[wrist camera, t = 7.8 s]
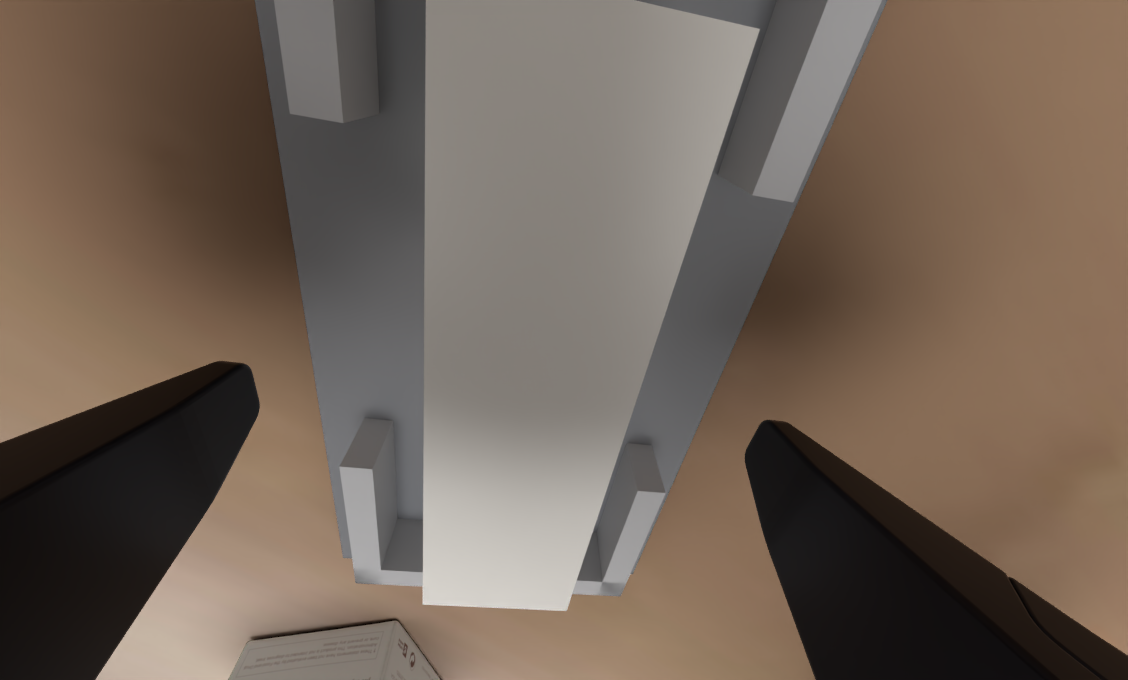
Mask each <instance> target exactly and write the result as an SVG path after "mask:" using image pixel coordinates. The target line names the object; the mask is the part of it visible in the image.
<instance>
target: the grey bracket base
mask: <svg viewBox="0 0 1128 680" xmlns="http://www.w3.org/2000/svg"><path fill="white" fill-rule="evenodd" d="M636 1H640V2H645V3H649V4H653V5H658V6H662V7H666V8H671V9H675V10H679V11H684V12H688V13H693V14H697V15H701V16H706V17H710V18H714V19H719V20H723V21H727V22H732V23H736V24H740V25H745V26H749V27H753V28H758V29H760V31H759V34H758V37H757V40H756V43H755V46H754V49H753V52H752V55H751V58H750V61H749V64H748V67H747V70H746V73H745V76H744V79H743V82H742V85H741V88H740V91H739V94H738V97H737V100H736V103H735V106H734V109H733V112H732V115H731V118H730V121H729V124H728V127H727V130H726V133H725V136H724V139H723V142H722V145H721V148H720V151H719V154H718V157H717V160H716V163H715V166H714V169H713V172H712V175H711V178H710V181H709V184H708V187H707V190H706V193H705V196H704V199H703V202H702V205H701V208H700V211H699V214H698V217H697V220H696V223H695V226H694V229H693V232H692V235H691V238H690V241H689V244H688V247H687V250H686V253H685V256H684V259H683V262H682V265H681V268H680V271H679V274H678V277H677V280H676V283H675V286H674V289H673V292H672V295H671V298H670V301H669V304H668V307H667V310H666V313H665V316H664V319H663V322H662V325H661V328H660V331H659V334H658V337H657V340H656V343H655V346H654V349H653V352H652V355H651V358H650V361H649V364H648V367H647V370H646V373H645V376H644V379H643V382H642V385H641V388H640V391H639V394H638V397H637V400H636V403H635V406H634V409H633V412H632V415H631V418H630V421H629V424H628V427H627V430H626V433H625V436H624V439H623V442H622V445H621V448H620V451H619V454H618V457H617V460H616V463H615V467H614V470H613V473H612V476H611V479H610V482H609V485H608V488H607V491H606V494H605V497H604V500H603V503H602V506H601V509H600V512H599V515H598V518H597V521H596V524H595V527H594V530H593V533H592V536H591V539H590V542H589V545H588V548H587V551H586V554H585V557H584V560H583V563H582V566H581V569H580V572H579V575H578V578H577V581H576V584H575V587H574V590H573V593H572V594H584V595H604V596H621V594H622V592H623V589H624V587H625V585H626V582H627V580H628V578H629V576H630V574H633V572H634V570H635V568H636V565H637V563H638V561H639V559H640V556H641V554H642V552H643V550H644V547H645V545H646V543H647V541H648V538H649V536H650V534H651V532H652V529H653V527H654V525H655V523H656V520H657V518H658V516H659V514H660V511H661V509H662V507H663V505H664V502H665V500H666V498H667V496H668V493H669V491H670V489H671V487H672V484H673V482H674V480H675V478H676V475H677V473H678V471H679V468H680V466H681V464H682V462H683V459H684V457H685V455H686V453H687V450H688V448H689V446H690V444H691V441H692V439H693V437H694V435H695V432H696V430H697V428H698V426H699V423H700V421H701V419H702V417H703V414H704V412H705V410H706V408H707V405H708V403H709V401H710V399H711V396H712V394H713V392H714V390H715V387H716V385H717V383H718V381H719V378H720V376H721V374H722V372H723V369H724V367H725V365H726V363H727V360H728V358H729V356H730V354H731V351H732V349H733V347H734V345H735V342H736V340H737V338H738V336H739V333H740V331H741V329H742V327H743V324H744V322H745V320H746V318H747V315H748V313H749V311H750V309H751V306H752V304H753V302H754V300H755V297H756V295H757V293H758V291H759V288H760V286H761V284H762V282H763V279H764V277H765V275H766V273H767V270H768V268H769V266H770V264H771V261H772V259H773V257H774V255H775V252H776V250H777V248H778V246H779V243H780V241H781V239H782V237H783V234H784V232H785V230H786V228H787V225H788V223H789V221H790V219H791V216H792V214H793V212H794V210H795V207H796V205H797V203H798V201H799V198H800V196H801V194H802V192H803V189H804V187H805V185H806V183H807V180H808V178H809V176H810V173H811V171H812V169H813V167H814V164H815V162H816V160H817V158H818V155H819V153H820V151H821V149H822V146H823V144H824V142H825V140H826V137H827V135H828V133H829V131H830V128H831V126H832V124H833V122H834V119H835V117H836V115H837V113H838V110H839V108H840V106H841V104H842V101H843V99H844V97H845V95H846V92H847V90H848V88H849V86H850V83H851V81H852V79H853V77H854V74H855V72H856V70H857V68H858V65H859V63H860V61H861V59H862V56H863V54H864V52H865V50H866V47H867V45H868V43H869V41H870V38H871V36H872V34H873V32H874V29H875V27H876V25H877V23H878V20H879V18H880V16H881V14H882V11H883V9H884V7H885V5H886V2H887V0H636ZM255 5H256V12H257V18H258V24H259V30H260V37H261V43H262V49H263V56H264V62H265V68H266V75H267V81H268V87H269V93H270V100H271V106H272V112H273V119H274V125H275V131H276V138H277V144H278V150H279V157H280V163H281V169H282V175H283V182H284V188H285V194H286V201H287V207H288V213H289V220H290V226H291V232H292V238H293V245H294V251H295V257H296V264H297V270H298V276H299V283H300V289H301V295H302V302H303V308H304V314H305V320H306V327H307V333H308V339H309V346H310V352H311V358H312V365H313V371H314V377H315V383H316V390H317V396H318V402H319V409H320V415H321V421H322V428H323V434H324V440H325V447H326V453H327V459H328V465H329V472H330V478H331V484H332V491H333V497H334V503H335V510H336V516H337V522H338V528H339V535H340V541H341V547H342V554H343V558H352V560H353V567H354V574H355V582H356V583H362V584H383V585H403V586H423V445H424V250H425V55H426V0H255Z"/></svg>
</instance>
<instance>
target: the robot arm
mask: <svg viewBox="0 0 1128 680" xmlns="http://www.w3.org/2000/svg"><path fill="white" fill-rule="evenodd" d="M259 408H260V404H259V398H258V394H257V390H256V386H255V382H254V378H253V374H252V371H251V369H250V367H249V366H248V365H246V364H244V363H236V362H227V361H217V362H214V363H211V364H208V365H206V366H203V367H200V368H198V369H195V370H192V371H190V372H187V373H184V374H182V375H179V376H177V377H174V378H171V379H169V380H166V381H163V382H161V383H158V384H155V385H153V386H150V387H147V388H145V389H142V390H139V391H137V392H134V393H132V394H129V395H126V396H124V397H121V398H118V399H116V400H113V401H110V402H108V403H105V404H102V405H100V406H97V407H94V408H92V409H89V410H87V411H84V412H81V413H79V414H76V415H73V416H71V417H68V418H65V419H63V420H60V421H57V422H55V423H52V424H49V425H47V426H44V427H42V428H39V429H36V430H34V431H31V432H28V433H26V434H23V435H20V436H18V437H15V438H12V439H10V440H7V441H4V442H2V443H0V680H95V679H96V678H97V676H98V675H99V673H100V672H101V670H102V669H103V667H104V666H105V664H106V663H107V661H108V660H109V658H110V657H111V655H112V654H113V652H114V651H115V649H116V647H117V646H118V644H119V643H120V641H121V640H122V638H123V637H124V635H125V634H126V632H127V631H128V629H129V628H130V626H131V625H132V623H133V622H134V620H135V619H136V617H137V616H138V614H139V613H140V611H141V610H142V608H143V607H144V605H145V604H146V602H147V601H148V599H149V598H150V596H151V595H152V593H153V592H154V590H155V589H156V587H157V586H158V584H159V583H160V581H161V580H162V578H163V576H164V575H165V573H166V572H167V570H168V569H169V567H170V566H171V564H172V563H173V561H174V560H175V558H176V557H177V555H178V554H179V552H180V551H181V549H182V548H183V546H184V545H185V543H186V542H187V540H188V539H189V537H190V536H191V534H192V533H193V531H194V530H195V528H196V527H197V525H198V524H199V522H200V521H201V519H202V518H203V516H204V515H205V513H206V511H207V510H208V508H209V507H210V505H211V503H212V502H213V500H214V498H215V497H216V495H217V493H218V491H219V490H220V488H221V486H222V484H223V482H224V480H225V478H226V476H227V474H228V472H229V470H230V469H231V467H232V465H233V463H234V461H235V459H236V457H237V455H238V453H239V451H240V449H241V447H242V445H243V443H244V442H245V440H246V438H247V436H248V434H249V432H250V430H251V428H252V426H253V424H254V422H255V420H256V418H257V416H258V413H259ZM745 464H746V468H747V472H748V476H749V480H750V484H751V488H752V492H753V496H754V500H755V504H756V508H757V511H758V515H759V519H760V523H761V527H762V531H763V534H764V537H765V541H766V544H767V547H768V550H769V553H770V555H771V558H772V561H773V564H774V566H775V569H776V572H777V575H778V577H779V580H780V583H781V586H782V588H783V591H784V594H785V597H786V599H787V602H788V605H789V608H790V610H791V613H792V616H793V619H794V621H795V624H796V627H797V630H798V632H799V635H800V638H801V641H802V643H803V646H804V649H805V652H806V654H807V657H808V660H809V663H810V665H811V668H812V671H813V674H814V676H815V679H816V680H1128V655H1126V654H1125V653H1123V652H1122V651H1120V650H1118V649H1117V648H1115V647H1114V646H1112V645H1111V644H1109V643H1108V642H1106V641H1105V640H1103V639H1102V638H1100V637H1099V636H1097V635H1095V634H1094V633H1092V632H1091V631H1090V630H1088V629H1087V628H1085V627H1084V626H1082V625H1081V624H1079V623H1078V622H1076V621H1075V620H1073V619H1072V618H1070V617H1069V616H1067V615H1066V614H1064V613H1063V612H1061V611H1060V610H1059V609H1057V608H1056V607H1054V606H1053V605H1051V604H1050V603H1048V602H1047V601H1045V600H1044V599H1042V598H1041V597H1039V596H1038V595H1037V594H1035V593H1034V592H1032V591H1031V590H1029V589H1028V588H1026V587H1025V586H1024V585H1022V584H1021V583H1019V582H1018V581H1016V580H1015V579H1013V578H1011V577H1008V576H1007V575H1006V573H1004V572H1003V571H1002V570H1000V569H999V568H997V567H996V566H994V565H993V564H992V563H990V562H989V561H987V560H986V559H984V558H983V557H981V556H980V555H979V554H977V553H976V552H974V551H973V550H971V549H970V548H968V547H967V546H966V545H964V544H963V543H961V542H960V541H958V540H957V539H955V538H954V537H953V536H951V535H950V534H948V533H947V532H945V531H944V530H942V529H941V528H939V527H938V526H937V525H935V524H934V523H932V522H931V521H929V520H928V519H926V518H925V517H924V516H922V515H921V514H919V513H918V512H916V511H915V510H913V509H912V508H911V507H909V506H908V505H906V504H905V503H903V502H902V501H900V500H899V499H898V498H896V497H895V496H893V495H892V494H890V493H889V492H887V491H886V490H885V489H883V488H882V487H880V486H879V485H877V484H876V483H874V482H873V481H872V480H870V479H869V478H867V477H866V476H864V475H863V474H861V473H860V472H859V471H857V470H856V469H854V468H853V467H851V466H850V465H848V464H847V463H846V462H844V461H843V460H841V459H840V458H838V457H837V456H835V455H834V454H833V453H831V452H830V451H828V450H827V449H825V448H824V447H822V446H821V445H820V444H818V443H817V442H815V441H814V440H812V439H811V438H809V437H808V436H806V435H805V434H804V433H802V432H801V431H799V430H798V429H796V428H795V427H793V426H792V425H791V424H789V423H787V422H784V421H775V420H765V421H763V422H762V423H761V424H760V425H759V427H758V429H757V431H756V433H755V434H754V436H753V438H752V440H751V442H750V444H749V445H748V447H747V449H746V453H745Z"/></svg>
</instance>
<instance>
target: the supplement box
mask: <svg viewBox="0 0 1128 680" xmlns="http://www.w3.org/2000/svg"><path fill="white" fill-rule="evenodd" d="M228 680H440V678H439V677H438V675H437V674H436V672H435V671H434V670H433V668H432V667H431V665H430V664H429V663H428V661H427V660H426V658H425V657H424V656H423V654H422V653H421V651H420V650H419V649H418V647H417V646H416V644H415V643H414V642H413V640H412V639H411V638H410V636H409V635H408V634H407V632H406V631H405V630H404V628H403V627H402V626H401V624H400V623H399V622H398V621H389V622H383V623H377V624H370V625H363V626H356V627H349V628H342V629H335V630H328V631H320V632H313V633H305V634H298V635H291V636H283V637H275V638H268V639H261V640H254V641H249V642H247V643H246V645H245V648H244V650H243V652H242V653H241V655H240V657H239V659H238V661H237V663H236V665H235V667H234V669H233V671H232V673H231V675H230V677H229V679H228Z"/></svg>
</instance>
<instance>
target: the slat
mask: <svg viewBox="0 0 1128 680" xmlns="http://www.w3.org/2000/svg"><path fill="white" fill-rule="evenodd" d="M759 31H760V29H758V28H753V27H749V26H745V25H740V24H736V23H732V22H727V21H723V20H719V19H714V18H710V17H706V16H701V15H697V14H693V13H688V12H684V11H679V10H675V9H671V8H666V7H662V6H658V5H653V4H649V3H645V2H640V1H636V0H426V55H425V250H424V445H423V605H445V606H467V607H489V608H511V609H534V610H556V611H567V608H568V605H569V602H570V599H571V596H572V593H573V590H574V587H575V584H576V581H577V578H578V575H579V572H580V569H581V566H582V563H583V560H584V557H585V554H586V551H587V548H588V545H589V542H590V539H591V536H592V533H593V530H594V527H595V524H596V521H597V518H598V515H599V512H600V509H601V506H602V503H603V500H604V497H605V494H606V491H607V488H608V485H609V482H610V479H611V476H612V473H613V470H614V467H615V463H616V460H617V457H618V454H619V451H620V448H621V445H622V442H623V439H624V436H625V433H626V430H627V427H628V424H629V421H630V418H631V415H632V412H633V409H634V406H635V403H636V400H637V397H638V394H639V391H640V388H641V385H642V382H643V379H644V376H645V373H646V370H647V367H648V364H649V361H650V358H651V355H652V352H653V349H654V346H655V343H656V340H657V337H658V334H659V331H660V328H661V325H662V322H663V319H664V316H665V313H666V310H667V307H668V304H669V301H670V298H671V295H672V292H673V289H674V286H675V283H676V280H677V277H678V274H679V271H680V268H681V265H682V262H683V259H684V256H685V253H686V250H687V247H688V244H689V241H690V238H691V235H692V232H693V229H694V226H695V223H696V220H697V217H698V214H699V211H700V208H701V205H702V202H703V199H704V196H705V193H706V190H707V187H708V184H709V181H710V178H711V175H712V172H713V169H714V166H715V163H716V160H717V157H718V154H719V151H720V148H721V145H722V142H723V139H724V136H725V133H726V130H727V127H728V124H729V121H730V118H731V115H732V112H733V109H734V106H735V103H736V100H737V97H738V94H739V91H740V88H741V85H742V82H743V79H744V76H745V73H746V70H747V67H748V64H749V61H750V58H751V55H752V52H753V49H754V46H755V43H756V40H757V37H758V34H759Z"/></svg>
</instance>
